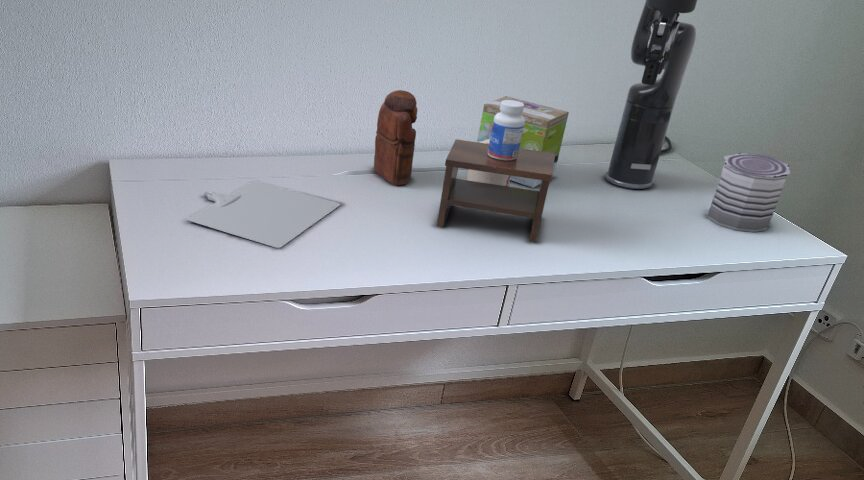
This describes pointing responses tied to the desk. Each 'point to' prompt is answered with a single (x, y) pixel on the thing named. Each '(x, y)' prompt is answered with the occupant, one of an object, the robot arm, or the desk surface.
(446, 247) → the desk surface
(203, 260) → the desk surface
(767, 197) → the can
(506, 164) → the walnut stand
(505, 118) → the pill bottle
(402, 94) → the wooden figurine
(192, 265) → the desk surface
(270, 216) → the grey clipboard
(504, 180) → the teacup with lid
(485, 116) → the tea box
